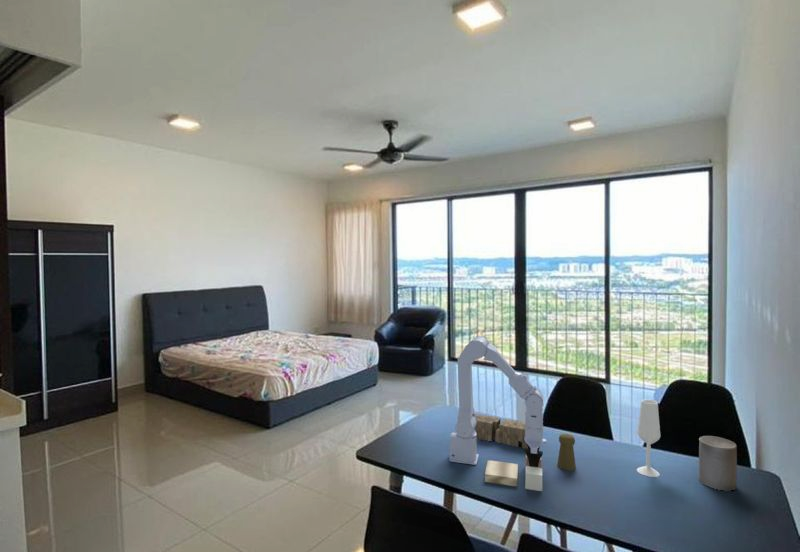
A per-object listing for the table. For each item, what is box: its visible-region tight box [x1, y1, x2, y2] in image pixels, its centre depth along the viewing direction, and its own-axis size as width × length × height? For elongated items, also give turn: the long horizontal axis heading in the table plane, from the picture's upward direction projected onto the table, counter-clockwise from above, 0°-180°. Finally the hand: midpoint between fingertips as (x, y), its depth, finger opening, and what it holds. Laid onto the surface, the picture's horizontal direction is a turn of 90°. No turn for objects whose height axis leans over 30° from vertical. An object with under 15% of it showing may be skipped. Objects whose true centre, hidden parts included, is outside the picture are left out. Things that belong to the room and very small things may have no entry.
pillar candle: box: [698, 435, 738, 492], centre depth 135 cm, size 10×10×15 cm
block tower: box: [474, 413, 528, 449], centre depth 169 cm, size 8×8×29 cm
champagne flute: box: [636, 398, 661, 478], centre depth 142 cm, size 7×7×24 cm
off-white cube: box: [524, 465, 543, 492], centre depth 133 cm, size 5×5×5 cm
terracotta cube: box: [525, 454, 543, 468], centre depth 144 cm, size 5×5×5 cm
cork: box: [557, 433, 577, 472], centre depth 146 cm, size 6×6×11 cm
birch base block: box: [484, 459, 519, 487], centre depth 139 cm, size 10×10×3 cm
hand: (533, 465), depth 144 cm, fingers open, 7 cm apart
